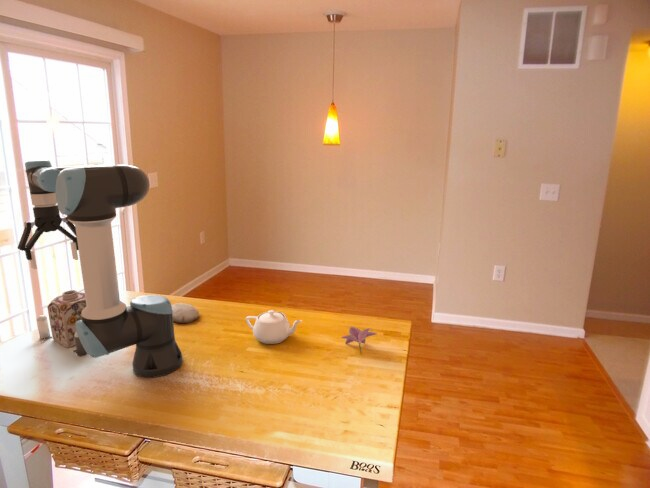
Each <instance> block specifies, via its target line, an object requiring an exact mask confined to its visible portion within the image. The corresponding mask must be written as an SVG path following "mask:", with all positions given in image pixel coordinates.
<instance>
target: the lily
mask: <svg viewBox="0 0 650 488" xmlns="http://www.w3.org/2000/svg"><path fill="white" fill-rule="evenodd" d="M360 329H361V328H360ZM360 329H359V328H357V327H354V326H350V327H349V328H348V333H349V334H347V335H344V336H341V337H340V339H343V340H344V339H346V340H345V343H344V344H345V345H348V344H350V343H353V342H355V343H358V346H359V352H360V355H362V348H361V347H362V346H361V344H363V345H365V344H366V338H369V337H371V336H375V335H378V333H377V332H374V331H370V329H371V328H370V327H369V328H365V329H362V330H360Z"/></svg>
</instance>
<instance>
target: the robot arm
mask: <svg viewBox="0 0 650 488" xmlns="http://www.w3.org/2000/svg"><path fill="white" fill-rule="evenodd" d="M24 167H25V170H24V171H25V174H26V179H27V184H28V189H29V193H30V194H29V195H30V199H31V205H32V206H33V207H32V210H33V211H32V212H33V217H34V221H26V220H25V221H24V229H23V232H22V234H21V237H20V240H19V242H18V246H17V249H18V250H19V251H24V252H25V257H26V260H28V261H30V266H31V267H30V268H31V269H33V270H36V269H38V267H37V261H36V257H35V251H34V250H32V248H33V247H34V246H35V244H36V243H37V242H38V240H39V239H40V237H41V236H42V235H43V233H50V232H56V231H59V232H60V233H61V234H63V235H65V237H67V238H68V239H69V240H70V243H69V244H70V248H71V249H70V250H71V255H72V259H73V260H76V261H77V260H79V263H80V271H81V275H82V276H81V277H82V283H83V285H82V286H83V291H84V292H83V293H85V299H86V307H85V308H84V309H83V310H82V312H81V315H82V320H78V321H77V322H76V323H75V324H76V325H75V327H76V331H77V334H78V337H79V339H80V342H81V344H82V346H83V348H84V349H85V351H86V352H87V355H88V356H90V357H91V358H99V357H102V356H108V355H110V354H112V353H114V352H118V351H120V350H121V351H122V350H124V349H126V348H129V347H131V346H132V347H133V346H135V351H134V354H133V359H132V371H133V373H134V374H135V375H136V376H138V377H141V378H158V377H161V376H165V375H166V376H167V375H168V374H171V373H173V372H175V371H176V370H178V369H180V367H181V366H182V364H183V362H184V361H183V360H184V359H183V352H182V351H181V349H180V347H179V345H178V343H177V341H176V339H175V338H176V337H175V326H174V325H175V324H174V321H173V314H172V313H173V311H172V307H171V306H172V302H171V300H170V299H169V298H167V297H165V296H162V295H158V294H145V295H139V296H135V297H133V298H131V300H130V302H129V305H128V306H127V305H126V303H125V302H122V301H121V298H120V291H119V281H118V272H117V265H116V264H117V262H116V257H115V255H116V254H115V246H114V237H113V230H112V229H113V228H112V221H113V220H115V219H116V217H117V210H116V209H119V208H126V207H131V206H133V205H136V204H139V202H141V201H143V200H144V198H145V197H146V196H147V195H148V193H149V191H150V185H151V184H150V180H149V177H148V175H147V174H146V172H145V171H143V170H142V169H141V168H139V167H137V166H134V165H128V164H110V165H109V164H108V165H106V164H86V165H84V164H83V165H72V166H71V165H70V166H67V165H66V166H52V162H51V161H50V160H48V159H32V160H31V159H30V160H26V161H25V163H24ZM60 214H62V215H64V216H60ZM62 222H63V223H64V224H65V225H67V227H68V228H69V229H70V230H71V231H72V233H73V234H74V235H73V234H72V233H70V232H69V231H68V230H66V229H65V228H64V227H63V226H62V225H61V224H62ZM34 226H35V227H36V229H35V231H34V233H33V234H32V236H31V237H30V234H31V232H32V229H33V228H34ZM78 254H79V255H78ZM78 256H79V257H78Z"/></svg>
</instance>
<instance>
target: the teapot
mask: <svg viewBox="0 0 650 488" xmlns="http://www.w3.org/2000/svg"><path fill="white" fill-rule="evenodd" d="M252 319H253V320H255V322H254V325H252V323H251V321H250V320H252ZM245 322H246V325H247V326H248V327H249V328H250V329H251V330H252V334H253V336H254V339H256V340H257V341H258V342H260V343H262V344H267V345H276V344H279V343H282V342H284V341H285V340H286V339H287V338H288V337H289V336H291V335H293V334H294V333H295V332H296V329H297V325H298V324H299V323H301V322H303V320H302V319H296V320H295V321H294V322H293V325H292V326H291V323H290V322H289V320H288V318H287V316H286V314H285V313H284V312H281V311H276V310H273V309H271V310H268V311H264V312H262V313H260V314H258V316H255V315H248V316H246V317H245Z"/></svg>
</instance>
